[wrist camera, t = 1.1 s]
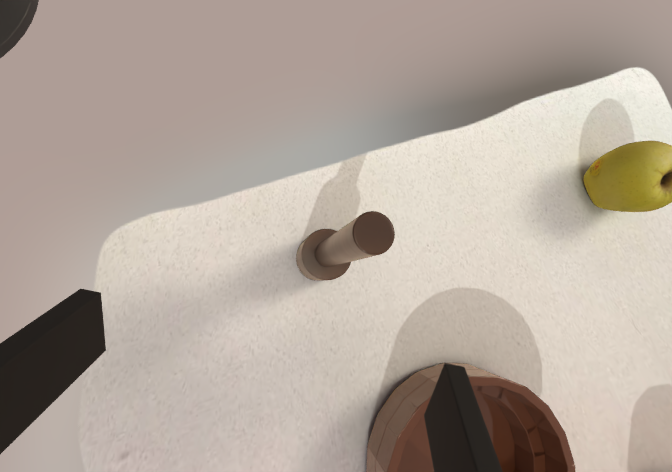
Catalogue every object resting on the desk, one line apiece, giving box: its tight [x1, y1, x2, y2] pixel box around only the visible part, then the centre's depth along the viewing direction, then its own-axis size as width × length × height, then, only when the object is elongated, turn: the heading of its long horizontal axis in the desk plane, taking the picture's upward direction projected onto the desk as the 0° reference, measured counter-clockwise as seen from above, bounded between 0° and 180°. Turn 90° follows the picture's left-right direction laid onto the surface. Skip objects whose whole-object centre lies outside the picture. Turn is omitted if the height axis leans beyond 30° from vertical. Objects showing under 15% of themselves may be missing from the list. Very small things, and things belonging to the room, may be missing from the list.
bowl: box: [366, 363, 575, 472], centre depth 32 cm, size 18×18×6 cm
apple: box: [584, 141, 672, 212], centre depth 38 cm, size 8×8×10 cm
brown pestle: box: [296, 211, 395, 281], centre depth 26 cm, size 4×4×18 cm
